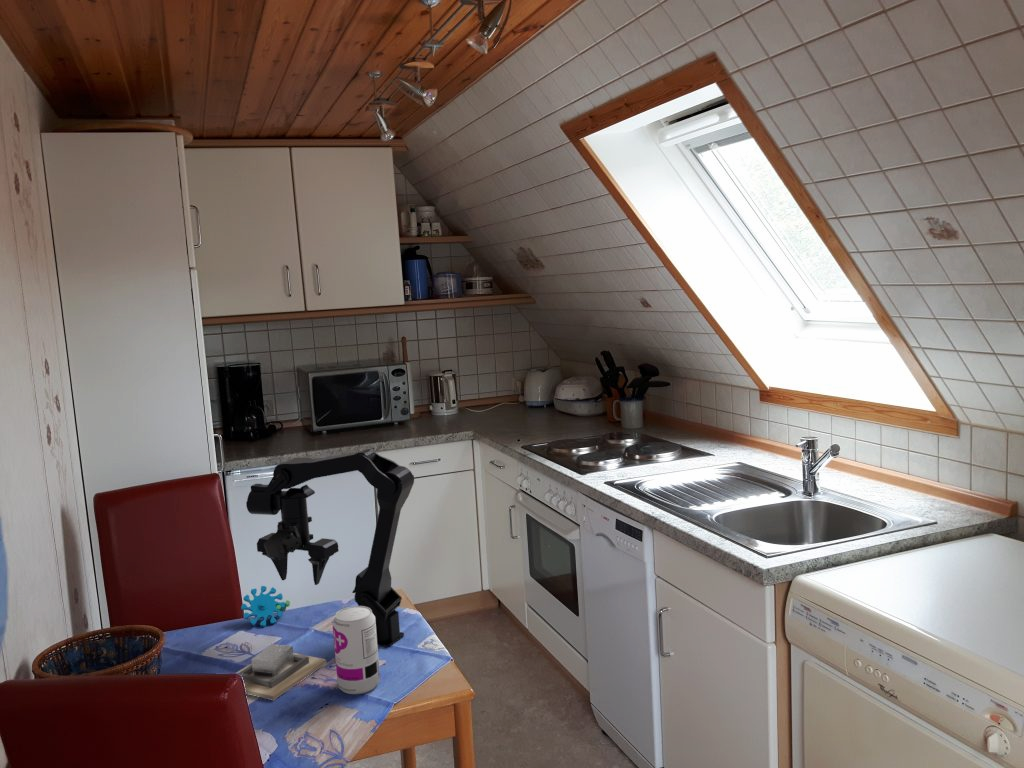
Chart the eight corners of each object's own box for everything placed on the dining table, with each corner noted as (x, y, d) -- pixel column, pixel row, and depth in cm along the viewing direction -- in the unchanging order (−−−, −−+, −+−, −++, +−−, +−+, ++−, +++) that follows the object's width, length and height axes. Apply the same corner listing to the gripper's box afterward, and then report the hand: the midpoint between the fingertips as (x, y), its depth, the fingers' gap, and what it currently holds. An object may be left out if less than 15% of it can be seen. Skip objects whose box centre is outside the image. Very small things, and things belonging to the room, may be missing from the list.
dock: (326, 663, 173) (325, 654, 173) (273, 701, 159) (272, 690, 159) (274, 653, 179) (273, 643, 179) (219, 688, 165) (218, 677, 165)
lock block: (294, 664, 172) (292, 645, 171) (274, 681, 165) (272, 662, 164) (273, 661, 173) (272, 643, 173) (252, 678, 166) (251, 659, 166)
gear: (240, 625, 191) (242, 585, 197) (239, 635, 195) (241, 596, 201) (290, 623, 194) (290, 583, 200) (288, 633, 199) (288, 594, 205)
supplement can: (345, 700, 158) (338, 625, 156) (333, 682, 165) (327, 610, 163) (385, 688, 162) (380, 615, 160) (372, 671, 169) (367, 601, 167)
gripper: (236, 522, 182) (243, 590, 184) (305, 530, 174) (311, 600, 176) (270, 508, 192) (276, 572, 194) (337, 514, 184) (342, 581, 186)
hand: (300, 582), depth 187 cm, fingers open, 9 cm apart
